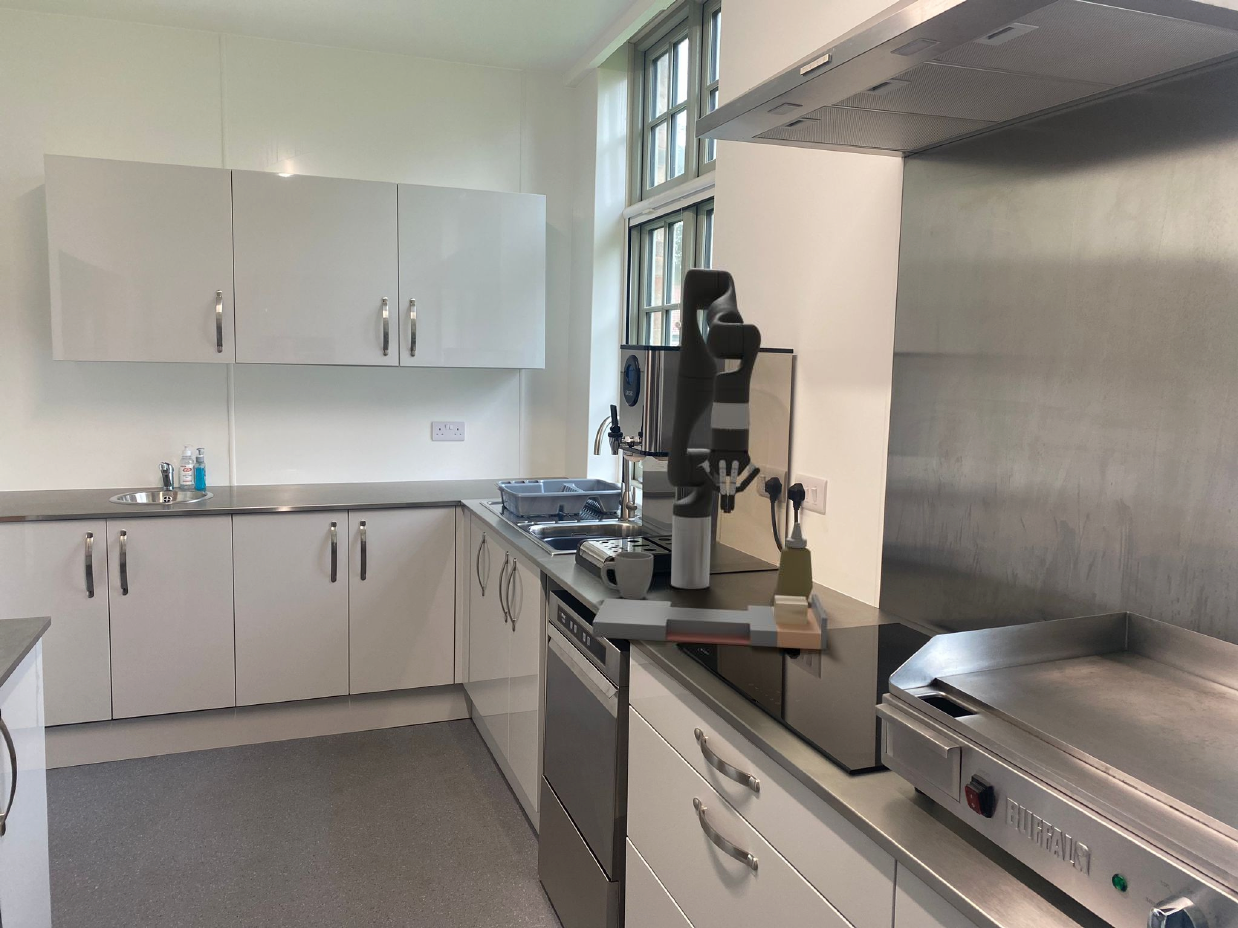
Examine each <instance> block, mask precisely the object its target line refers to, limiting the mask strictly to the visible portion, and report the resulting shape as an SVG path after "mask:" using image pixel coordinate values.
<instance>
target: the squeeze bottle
mask: <svg viewBox="0 0 1238 928" xmlns="http://www.w3.org/2000/svg"><path fill="white" fill-rule="evenodd" d="M807 547H808V540H807V538H804V537H803V534H802V529H801V523H800V522H794V523H793V527H792V532H791V534H790V537H787V538H785V546H784V547H782V548H781V551H780V557H779V558H780V559H779V564H778V572H777V580H776V586H777V590H778V593H779V596H797V597H805V598H806V600H807V602H808V600H809V597H810V595H811V593H812V590H813V587H814V586H813V581H814V580H813V568H812V567H813V566H812V554H811V553H812V551H811V550H810V549H809V548H807Z"/></svg>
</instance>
